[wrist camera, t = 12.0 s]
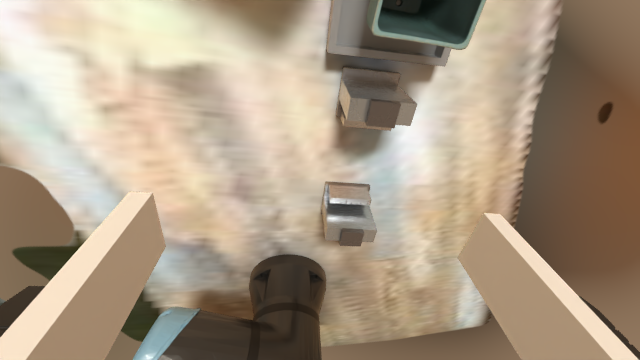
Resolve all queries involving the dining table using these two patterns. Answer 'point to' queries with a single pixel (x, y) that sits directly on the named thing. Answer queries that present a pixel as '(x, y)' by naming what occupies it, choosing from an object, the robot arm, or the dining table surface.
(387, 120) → the holder
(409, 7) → the flower pot
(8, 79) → the dining table surface
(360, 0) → the tray
